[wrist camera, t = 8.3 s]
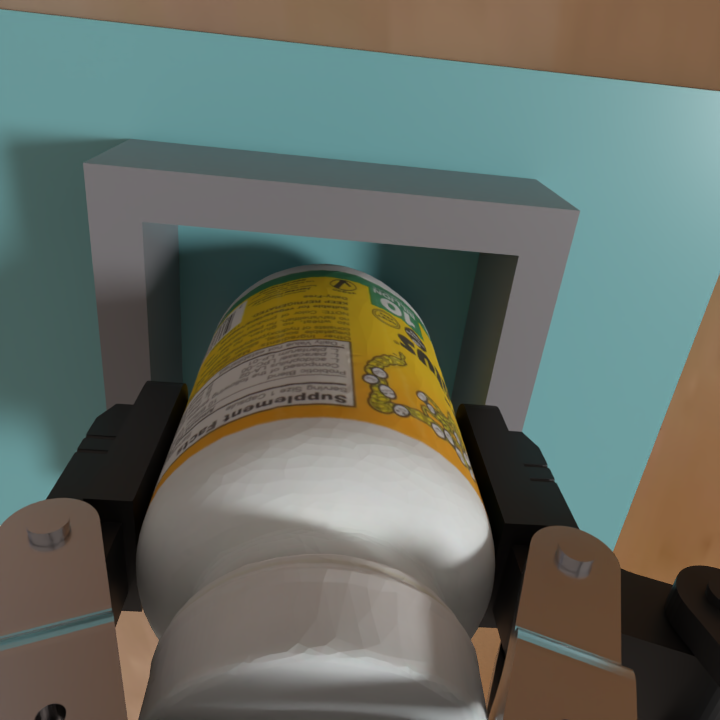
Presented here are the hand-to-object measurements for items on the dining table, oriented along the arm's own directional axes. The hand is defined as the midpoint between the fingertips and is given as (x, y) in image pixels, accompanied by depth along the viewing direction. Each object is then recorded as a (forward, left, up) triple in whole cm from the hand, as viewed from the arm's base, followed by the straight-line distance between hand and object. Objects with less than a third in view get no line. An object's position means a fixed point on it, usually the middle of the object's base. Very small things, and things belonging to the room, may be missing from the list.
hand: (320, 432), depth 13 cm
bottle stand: (0, 0, -5) cm, 5 cm away
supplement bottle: (0, 0, -3) cm, 3 cm away
